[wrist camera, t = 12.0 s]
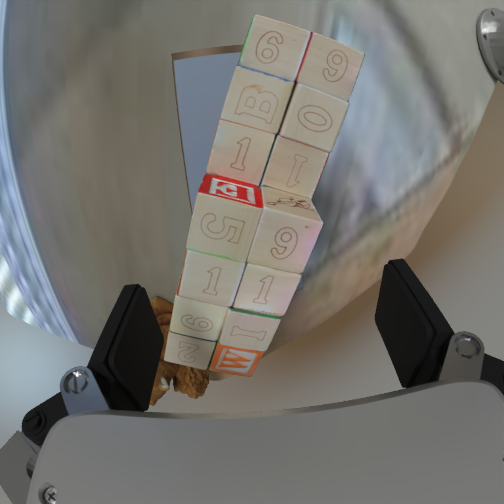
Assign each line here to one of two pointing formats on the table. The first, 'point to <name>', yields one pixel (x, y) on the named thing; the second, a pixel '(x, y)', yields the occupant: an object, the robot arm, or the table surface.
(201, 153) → the slate-blue tower block
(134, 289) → the robot arm
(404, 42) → the table surface
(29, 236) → the table surface
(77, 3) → the table surface
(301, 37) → the stack of blocks
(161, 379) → the stuffed squirrel
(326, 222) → the table surface
